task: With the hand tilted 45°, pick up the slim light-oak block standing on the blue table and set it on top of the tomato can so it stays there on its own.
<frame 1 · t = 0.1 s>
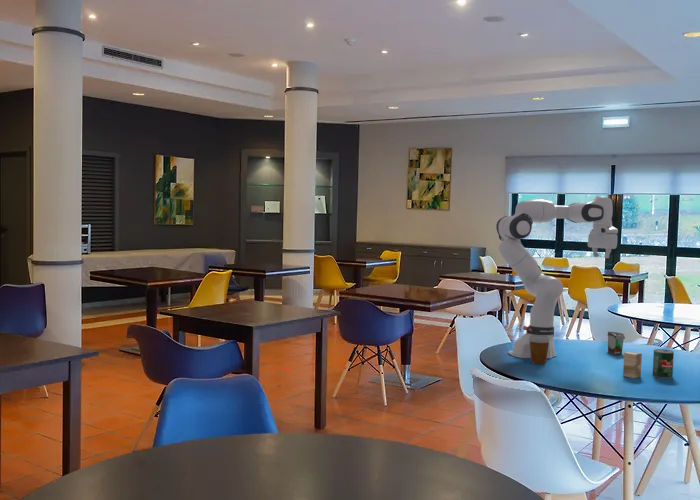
hand: (601, 257, 341), 48 cm above the table, tool pointing down, fingers open, 8 cm apart
disposable coffee cup: (538, 363, 318), on the table
canned tomato: (662, 376, 295), on the table
oak block: (631, 376, 293), on the table
food container: (617, 353, 346), on the table
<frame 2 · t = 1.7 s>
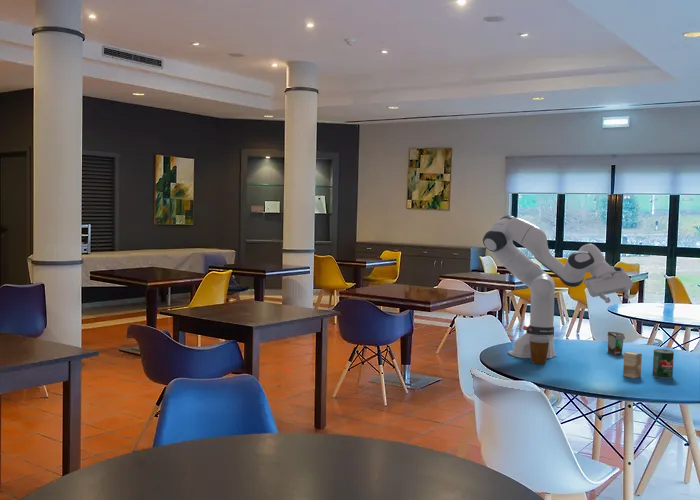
hand: (618, 300, 302), 31 cm above the table, tool tilted 40°, fingers open, 8 cm apart
nothing on the table moved.
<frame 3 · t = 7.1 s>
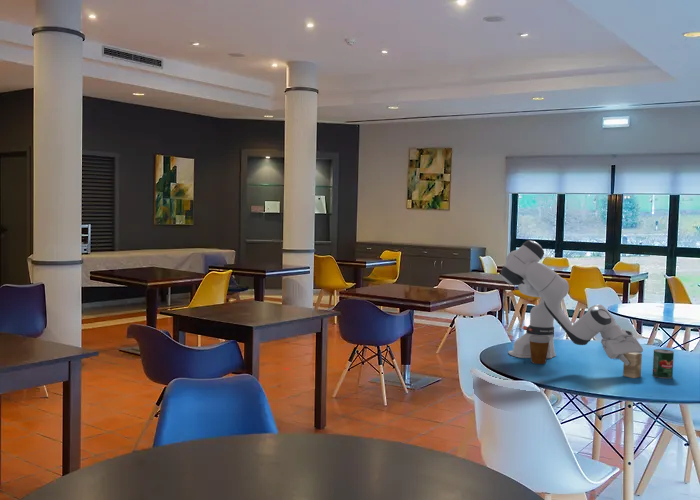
hand: (633, 364, 293), 5 cm above the table, tool tilted 45°, fingers closed on oak block, 5 cm apart
oak block: (631, 376, 293), on the table, touching gripper
everything else where it was.
when the fingers open (18 cm above the table, at t = 12.9 s): oak block drops 2 cm, resting on canned tomato.
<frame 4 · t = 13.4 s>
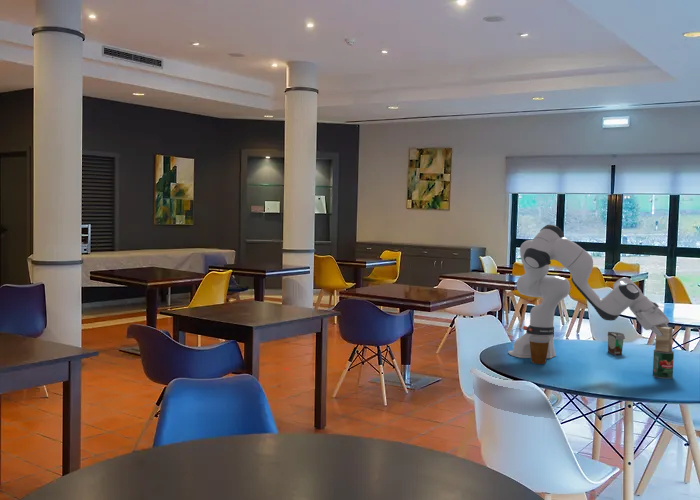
hand: (665, 334, 294), 18 cm above the table, tool tilted 45°, fingers open, 8 cm apart
canned tomato: (662, 376, 295), on the table, touching oak block
oak block: (663, 350, 295), point 11 cm above the table, touching canned tomato
everything else where it was.
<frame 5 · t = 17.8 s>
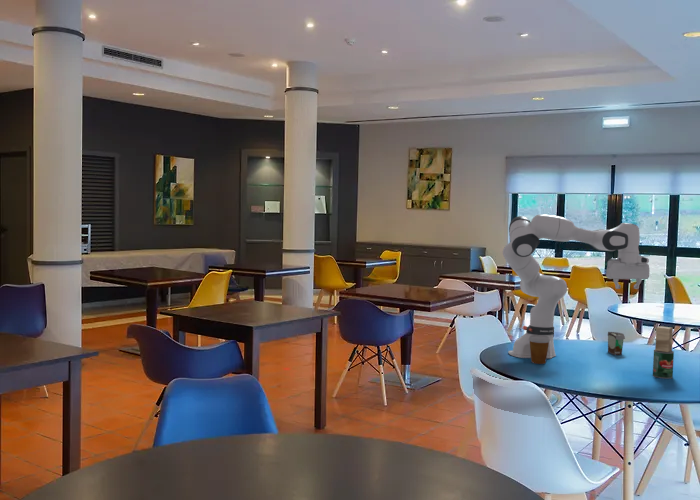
hand: (627, 288, 316), 35 cm above the table, tool pointing down, fingers open, 8 cm apart
nothing on the table moved.
at the end: oak block inside the target area (0.0 cm from its centre), point 11.0 cm above the table; oak block touching canned tomato; oak block tilted 0° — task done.
